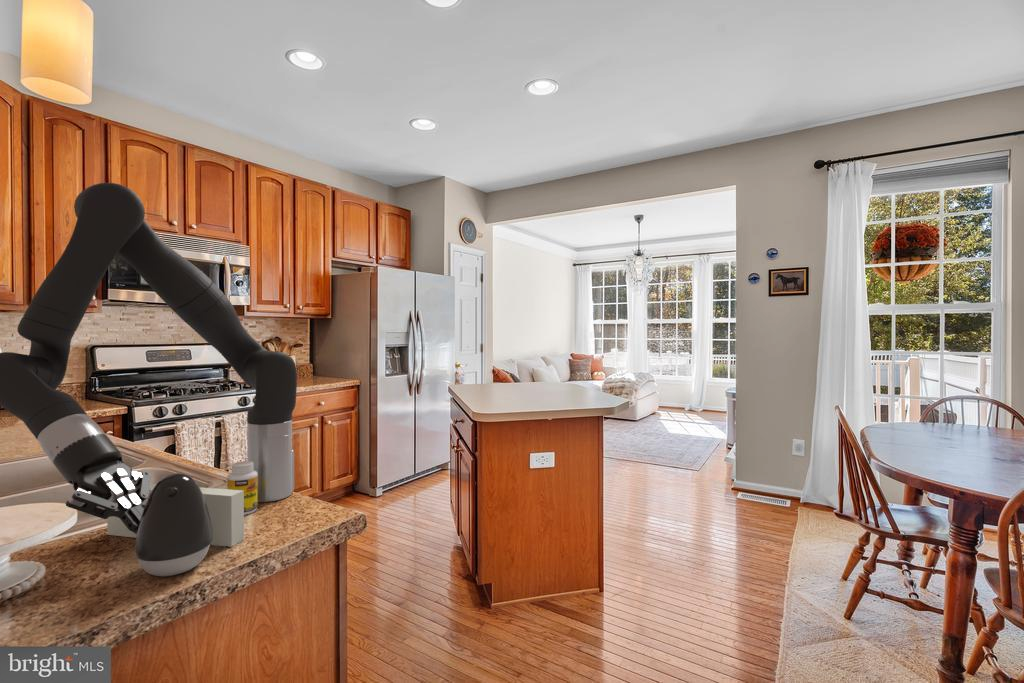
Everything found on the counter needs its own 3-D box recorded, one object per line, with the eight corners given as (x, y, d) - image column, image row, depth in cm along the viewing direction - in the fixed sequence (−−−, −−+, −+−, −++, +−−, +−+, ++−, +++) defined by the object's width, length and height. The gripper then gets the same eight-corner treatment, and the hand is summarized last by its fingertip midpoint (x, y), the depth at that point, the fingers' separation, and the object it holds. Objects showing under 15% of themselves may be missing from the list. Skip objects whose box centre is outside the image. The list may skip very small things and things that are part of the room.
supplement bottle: (231, 519, 98) (231, 468, 98) (223, 511, 102) (223, 463, 102) (261, 512, 102) (261, 463, 102) (253, 505, 106) (252, 458, 106)
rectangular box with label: (123, 528, 93) (122, 481, 93) (243, 539, 89) (243, 490, 89) (105, 535, 90) (104, 487, 90) (229, 548, 85) (229, 496, 85)
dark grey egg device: (126, 591, 71) (126, 487, 71) (142, 560, 80) (143, 468, 80) (208, 577, 75) (209, 479, 75) (215, 549, 85) (215, 462, 84)
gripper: (48, 441, 73) (117, 530, 71) (131, 425, 86) (192, 499, 84) (20, 475, 74) (87, 562, 72) (106, 453, 87) (166, 527, 85)
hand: (144, 528), depth 78 cm, fingers closed
